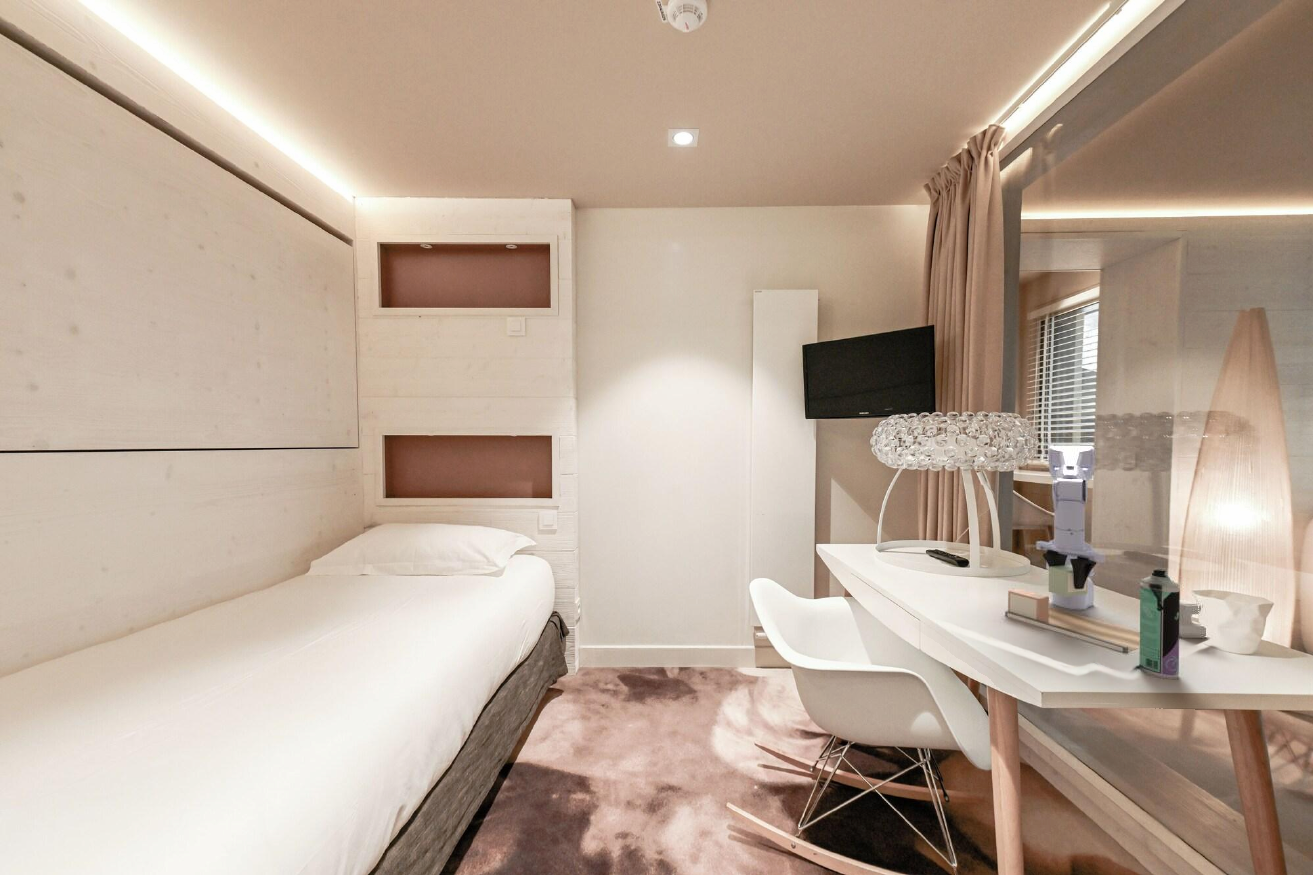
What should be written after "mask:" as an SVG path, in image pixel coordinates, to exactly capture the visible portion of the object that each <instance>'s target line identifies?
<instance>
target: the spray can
mask: <svg viewBox="0 0 1313 875" xmlns="http://www.w3.org/2000/svg"><path fill="white" fill-rule="evenodd" d="M1140 581H1141V582H1140V591H1139V592H1140V593H1139V594H1140V596H1139V597H1140V598H1139V632H1140V648H1139V669H1140V670H1141V672H1143V673H1144V674H1145V673H1146V674H1148V675H1149V676H1153V677H1158V678H1161V679H1166V680H1167V679H1169V680H1177V679H1178V678H1179V677H1180V676H1179V674H1180V672H1179V671H1180V636H1179V613H1180V600H1181V597H1180V596H1181V594H1180V593H1181V589H1180V583H1177V582H1176V581H1174V580H1172V579H1171V576H1168V574H1167V570H1166V569H1163V568H1157V569H1153V572H1152V573H1150V574H1149V576H1147V577H1145V578H1140Z"/></svg>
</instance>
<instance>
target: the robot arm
mask: <svg viewBox="0 0 1313 875" xmlns="http://www.w3.org/2000/svg"><path fill="white" fill-rule="evenodd" d="M1048 467H1049V468H1048V470H1049V474H1050V477H1051V478H1052V479H1054V480H1053V481H1052V487H1051V489H1052V490H1051V491H1052V495H1051V496H1052V501H1053V510H1054V516H1053V517H1054V518H1053V519H1054V520H1053V521H1054V522H1053V524H1054V526H1053V527H1054V528H1053V529H1054V530H1053V535H1054V536H1053V539H1052V540H1050V541H1043V540H1040V541H1035V544H1036V545H1035V546H1036V550H1039V551H1046V552H1045V553H1043V554H1042V557H1043V558H1044V560H1045V561H1046V562H1045V563H1046V566H1045V568H1046V570H1047V571H1048V572H1049V567H1052V566H1062V565H1072V568H1073V574H1074V588H1075V589H1084V585H1085V582H1086V580H1087V577H1088V584H1087V594H1083V595H1075V596H1067V597H1065V596H1062V595H1059V594H1055V593H1052V592H1051V600H1052V601H1051V603H1052V604H1053V605H1055V606H1058V607H1062V608H1065V609H1070V610H1071V609H1072V610H1087V608H1091V607H1093V606H1095V605H1094V604H1095V603H1094V600H1095V595H1094V594H1095V592H1094V591H1095V587H1094V586H1095V585H1094V583H1093V581H1092V579H1091V578H1092V576H1094V575H1095V566H1096V565H1097V563H1100V564H1101V563H1106V557H1107V556H1106V555H1107V554H1106V553H1102V552H1098V551H1095V550H1094V548H1093V547H1092V545H1090V544H1089V543H1088V542H1086V541H1085V537H1086V536H1085V534H1086V533H1085V532H1086V530H1085V527H1086V526H1085V524H1086V521H1085V520H1086V514H1085V513H1086V504H1087V503H1088V481H1089V480H1092V479H1093V475H1094V469H1095V448H1094V446H1092V445H1089V446H1084V445H1083V446H1082V445H1081V446H1079V445H1078V446H1077V445H1076V446H1075V445H1074V446H1073V445H1055V446H1054V445H1050V446H1049V447H1048Z"/></svg>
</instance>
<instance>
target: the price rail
mask: <svg viewBox="0 0 1313 875" xmlns="http://www.w3.org/2000/svg"><path fill="white" fill-rule="evenodd" d="M1004 612H1005V613H1004V614H1005V615H1004V616H1005V617H1009V618H1011V619H1015V620H1018V621H1021V622H1025V623H1028V624H1031V625H1033V626H1038V627H1041V628H1044V629H1048V630H1051V631H1054V632H1057V633H1061V634H1062V635H1067V636H1069V637H1074V638H1076V639H1080V640H1083V641H1086V642H1089V643H1092V644H1096V645H1098V646H1099V645H1100V646H1102V647H1106V648H1109V649H1113V650H1116V651H1119V652H1122V653H1125V652H1127V653H1129V652H1128V647H1127V646H1124V645H1120V644H1117V643H1114V642H1110V641H1107V640H1104V639H1100V638H1097V637H1094V636H1090V635H1087V634H1083V633H1080V632H1077V631H1073V630H1070V629H1067V628H1063V627H1060V626H1057V625H1053V624H1050V623H1047V622H1043V621H1040V620H1037V619H1033V618H1030V617H1027V616H1023V615H1020V614H1017V613H1013V612H1010V611H1008V610H1006V611H1004Z"/></svg>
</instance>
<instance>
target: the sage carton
mask: <svg viewBox="0 0 1313 875" xmlns="http://www.w3.org/2000/svg"><path fill="white" fill-rule="evenodd" d="M1088 578H1089V576H1088V577H1087V580H1086V582H1085V585H1084V589H1075V588H1074V574H1073V568H1072V565H1062V566H1052V567H1049V571H1048V592H1049V593H1051V594H1052V593H1055V594H1059V595H1062V596H1065V597H1067V596H1075V595H1083V594H1087V584H1088Z"/></svg>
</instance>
